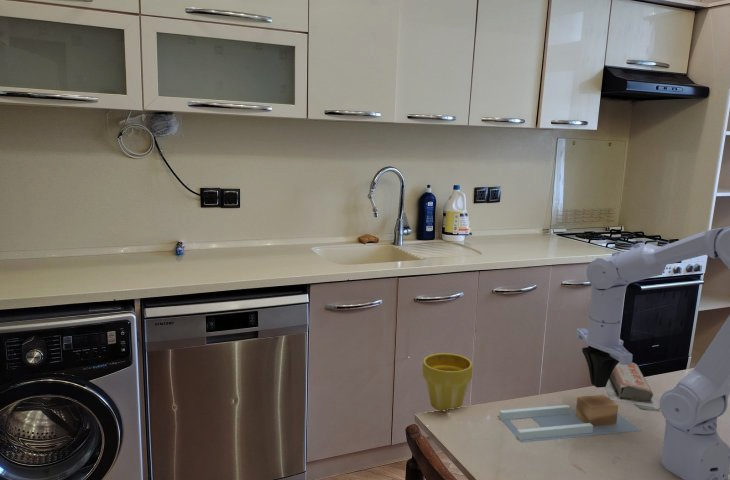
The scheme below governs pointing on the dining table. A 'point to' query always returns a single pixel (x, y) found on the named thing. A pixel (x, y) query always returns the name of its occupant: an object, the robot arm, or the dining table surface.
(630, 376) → the packaged product
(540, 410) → the channel
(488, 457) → the dining table surface
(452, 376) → the plant pot
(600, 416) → the block
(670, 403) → the robot arm
